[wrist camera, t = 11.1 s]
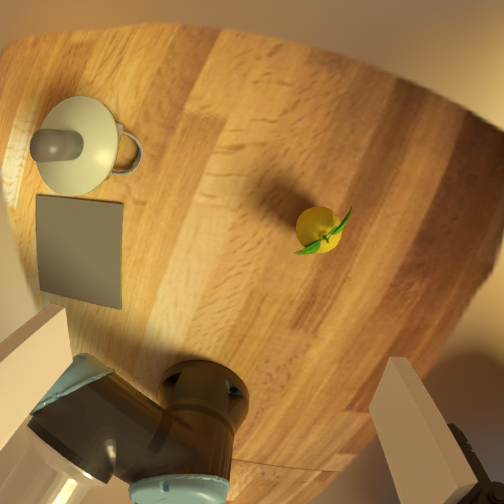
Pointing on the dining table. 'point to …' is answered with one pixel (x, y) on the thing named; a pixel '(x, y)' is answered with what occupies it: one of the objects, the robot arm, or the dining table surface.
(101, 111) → the lid
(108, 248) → the mat
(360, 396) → the dining table surface
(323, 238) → the lemon
